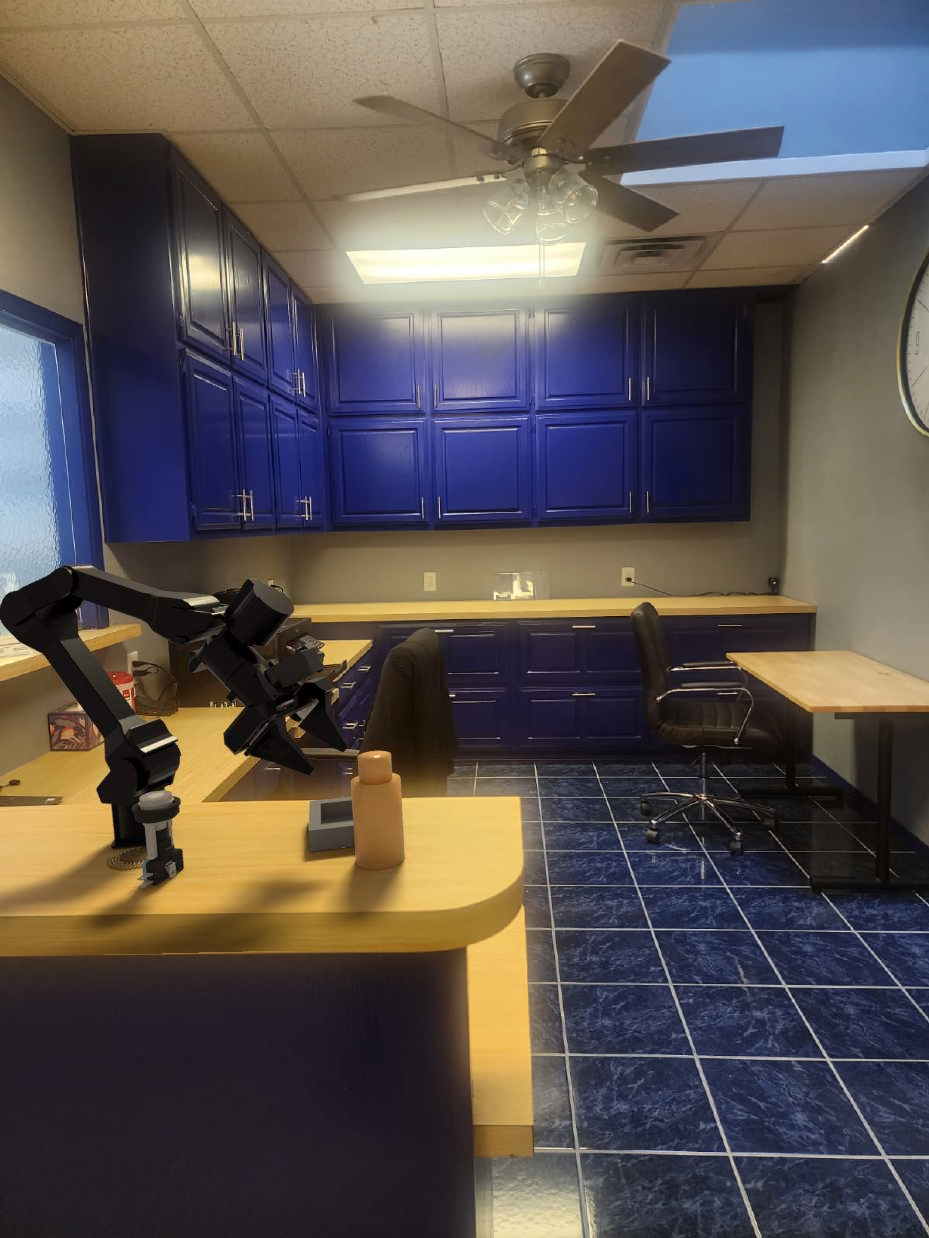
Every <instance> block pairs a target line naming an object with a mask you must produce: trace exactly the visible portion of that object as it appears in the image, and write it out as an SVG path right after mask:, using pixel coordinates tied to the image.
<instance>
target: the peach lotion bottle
mask: <svg viewBox="0 0 929 1238" xmlns="http://www.w3.org/2000/svg"><path fill="white" fill-rule="evenodd" d="M357 764H358V765H357V766H358V767H357V768H358V775H357V776H355V777H353V778H352V779H351V780H350V790H351V797H352V809H353V826H354V842H355V847H354V854H355V855H354V856H355V864H356V865H357V866H358V867H360V868H361V869H362V868H363V869H364V870H365V869H366V870H370V871H371V870H372V871H374V870H375V871H379V870H387V869H390V868H394V867H397V866H399V865H400V864H401V863H403V861H404V860H405V858H406V854H405V838H404V837H405V835H404V818H403V817H404V816H403V797H402V795H403V794H402V780H401V776H400V775H399V774H397V773H394V772H393V766H392V753H391V752H390V751H385V750H372V751H371V750H370V751H366V752H363V753H360V754H358V755H357Z"/></svg>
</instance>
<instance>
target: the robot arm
mask: <svg viewBox="0 0 929 1238" xmlns="http://www.w3.org/2000/svg"><path fill="white" fill-rule="evenodd" d="M86 601H87V602H89V603H92V604H95V605H98V606H101V607H102V608H106V609H110V610H112V611H115V612H118V613H121V614H124V615H126V616H130V617H132V618H135V619H139V620H140V621H142V622H144V623H146V624H147V625H148V627H149V628H150V629H151V631H152V632H153V633H155V634H156V635H158V636H160V637H162V638H164V639H165V640H166V641H169V642H170V643H173V644H176V645H186V644H189V643H193V642H198V641H202V640H206V641H205V642H204V643H203V644H202V646H201V647H200V648H198V649H194V650H190V651H189V652H188V655H189V662H188V668H187V669H188V670H187V671H188V672H189V673H190V674H193V673H198V672H200V671H204V670H209V672H211V674H213V675H214V676H215V677H216V679H218V680H219V682H220V683H221V684H222V685H223V686H224V687H225V688H226V689H227V690H228V691H229V693H227V695H226V697H225V699H227V700H228V701H229V702H230V703H231V704H233V703H234V702H240V704H241V705H243V707H244V708H243V709H242V710H241V711H240V712H239V713H238V715H237V716H236V717H234V720H233V721H232V722H231V723H230V724H229V726H227V728H226V729H225V731H223V733H222V734H223V744H224V746H225V747H226V748H227V749H228V750H229V751H230V752H231V753H232V754H233V755H234V756H237V755H239V754H241V753H243V755H244V757H254V758H256V759H261V760H263V761H267V762H271V763H273V764H276V765H279V766H281V767H285V768H287V769H291V770H292V771H295V772H298V773H302V774H304V775H307V776H311V775H312V774H313V773H314V772H315V770H316V767H315V766H314V765H313V763H312V761H311V760H310V759H309V757H308V756H307V755H306V753H305V752H304V751H303V750H302V749H301V747H300V746H299V745H298V743H296V741H295V740H294V739H293V737H292V736H291V735H290V734H289V733H288V728H287V719H286V718H288V717H289V718H290V719H291V720H292V721H294V722H297V723H299V724H298V725H297V727H298V728H299V729H301V730H303V731H304V732H306V733H307V734H309V735H311V736H313V737H314V738H316V739H318V740H320V741H321V742H322V743H324V744H327V745H328V746H330V747H331V748H333V749H335V750H336V751H339V752H340V753H344V752H346V750H347V749H348V748H349V744H348V742H347V741H346V738H345V737H344V734H343V732H342V730H341V728H340V726H339V724H338V722H337V720H336V717H335V716H334V713H333V711H332V701H333V700H332V699H333V698H334V696H335V693H334V690H335V689H336V687H335V685H334V683H332V682H331V681H330V680H329V679H328V678H327V677H325V676H324V677H319V676H317V677H315V678H312V679H310V680H307V681H305V682H304V683H303V682H302V681H303V680H304V679H307V678H308V677H310V676H313V675H315V674H318V673H319V674H320V673H321V672H324V671H326V667H325V665H324V659H325V657H326V655H325V654H326V653H325V652H324V651H321V650H320V649H319V647H318V646H314V645H313V643H311V642H308V643H304V644H303V645H302V646H301V647H298V648H296V649H294V653H293V654H292V655H290V656H289V657H287V658H284V659H283V660H281V661H278V660H277V659H275V658H270V659H267V660H266V659H265V658H264V657H263V656H262V655H261V654H260V653H259V652H258V651H257V650H256V649H255V648H254V647H256V646H258V647H266V646H267V645H269V643H270V642H271V641H272V640H273V638H274V637H275V636H276V635H277V634H278V632H279V631H280V630H281V628H283V626H284V625H285V624H286V622H287V621H288V620H289V618H290V617H291V616H292V615H293V614H294V612H295V606H294V604H293V603H292V600H291V599H290V598H289V597H288V596H287V594H285V593H284V592H280V591H279V590H277V589H276V588H275V587H272V586H271V585H269V584H265V583H263V582H262V581H261V580H260V579H259V578H258V577H255V578H247V579H246V580H245V581H244V583H242V585H241V588H240V590H239V591H238V593H236V596H235V597H234V598H233V599H232V601H231V602H230V603H229V604H227V603H226V604H224V603H221V602H220V600H219V599H217V597H215V596H212V595H210V594H204V593H197V592H196V593H195V592H185V591H167V590H161V589H158V588H157V587H156V588H155V587H153V586H149V585H146V584H143V583H141V582H138V581H135V580H133V579H128V578H125V577H123V576H121V575H117V574H113V573H110V572H107V571H104V570H101V569H98V568H97V567H95V566H94V565H92V564H88V563H81V564H77V563H76V564H64V565H60V566H59V567H57V568H55V569H54V570H53V571H51V572H50V573H48V575H44V577H41V578H38V579H37V580H34V581H32V582H30V583H28V584H26V585H24V586H21V587H20V588H19V589H17V590H12V591H9V592H8V593H6V594H5V595H4V596H3V598H2V599H1V603H0V622H1V624H2V626H3V627H4V628H5V629H6V630H7V632H8V633H9V634H11V635H12V636H13V638H15V639H16V640H17V641H18V642H19V643H20V644H22V645H24V646H26V647H28V648H30V649H32V650H34V651H36V652H38V653H40V654H41V655H43V657H45V659H46V660H47V662H48V663H49V664H50V665H51V667H52V668H53V670H54V671H55V672H56V674H57V675H58V677H59V678H60V679H61V681H62V682H63V683H64V685H65V686H66V688H67V689H68V691H69V692H70V693H71V695H72V696H73V697H74V699H75V700H76V702H77V703H78V704H79V705H80V707H81V708H82V710H83V711H84V713H85V714H86V715H87V717H88V718H89V720H90V721H91V722H92V723H93V725H94V726H95V728H96V729H97V731H98V732H99V733H100V735H101V736H102V738H103V743H104V744H103V746H104V747H103V748H104V761H105V763H106V764H107V768H109V772H108V773H107V774H106V775H105V777H104V778H103V779H102V781H100V783H99V784H98V785H97V786H96V788H95V790H96V793H97V796H98V798H99V800H100V803H101V804H105V805H110V807H111V817H112V826H113V836H114V840H113V841H112V842H111V844H110V848H111V849H121V848H123V849H124V848H132V847H138V846H139V847H140V846H147V844H146V833H145V826H144V825H143V823H140V822H136V820H135V814H134V813H133V812H132V806H133V805H134V804H136V803H138V802H140V797H141V796H142V795H144V794H146V793H149V792H154V791H162V790H166V788H167V787H168V786H172V785H173V784H174V780H175V776H176V774H177V773H176V772H177V771H179V767H180V764H181V757H182V753H181V750H180V747H179V745H178V744H177V742H179V739H178V738H177V737H176V736H174V735H173V734H172V733H171V732H170V730H169V728H168V727H167V725H166V723H165V722H164V720H162V719H161V718H159V717H157V718H154V719H152V720H146V719H144V718H142V717H140V716H139V715H138V714H137V713H136V711H135V709H134V708H133V707H132V705H130V703H129V701H128V700H127V699H126V698H125V696H124V695H123V694H122V691H120V689H119V688H118V687H117V686H116V684H115V683H114V681H113V680H112V679H111V677H110V676H109V674H108V673H107V672H106V670H105V669H104V668H103V666H102V665H101V663H100V662H99V661H98V660H97V658H96V656H94V654H93V653H92V652H91V651H92V650H90V649H89V648H88V646H87V644H86V643H85V641H84V640H83V639H82V638H81V636H80V635H79V616H78V615H79V614H78V613H77V610H78V609H80V608H81V607H83V606H84V605H85V603H86ZM171 823H172V824H173V819H172V820H171Z"/></svg>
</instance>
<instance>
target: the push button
mask: <svg viewBox="0 0 929 1238" xmlns="http://www.w3.org/2000/svg"><path fill="white" fill-rule="evenodd" d="M181 803H182V799H181V798H180V797H178V796H175V795H173V793H172V791H170V790H166V789H165V790H162V791H154V792H149V793H146V794H144V795H142V796H141V797H140V802H138V803H136V804H134V805H133V806H132V812H133V813H134V814H135V820H136V822H140V823H143V825H144V826H145V833H146V844H147V845H146V860H144V861H143V862H142V863H141V868H142V875H141V876H140V877H138V878H137V879H136V880H137V881H143V882H142V883H141V884H139V885H138V886H137V888H139V889H145V888H146V887H147V886H148V885H153V886H159V885H160V884H161V883H163V882H164V881H166V880H167V879H169V878H173V877H175V876H176V874H177V872H181V871H183V870H184V867H185V864H184V863H185V862H184V861H185V860H184V853H183V852H184V851H183V848H177V847H176V848H175V842H174V837H173V836H174V835H173V822H172V823H171V820H172V821H173V819H174V818H175V817H176V816H178V815H179V814H180V812H181V811H180V805H182V804H181Z"/></svg>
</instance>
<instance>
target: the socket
mask: <svg viewBox="0 0 929 1238" xmlns="http://www.w3.org/2000/svg"><path fill="white" fill-rule="evenodd" d="M308 810H309V812H308V814H309V815H308V841H309V852H310V853H313V852H321V851H320V850H323V851H329V850H328V849H331V850H338V848H339V849H343V848H342V847H348V848H352V847H351V846H355V842H354V826H353V809H352V796H346V797H345V796H344V797H336V798H335V797H334V798H325V799H316V800H309V809H308Z"/></svg>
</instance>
